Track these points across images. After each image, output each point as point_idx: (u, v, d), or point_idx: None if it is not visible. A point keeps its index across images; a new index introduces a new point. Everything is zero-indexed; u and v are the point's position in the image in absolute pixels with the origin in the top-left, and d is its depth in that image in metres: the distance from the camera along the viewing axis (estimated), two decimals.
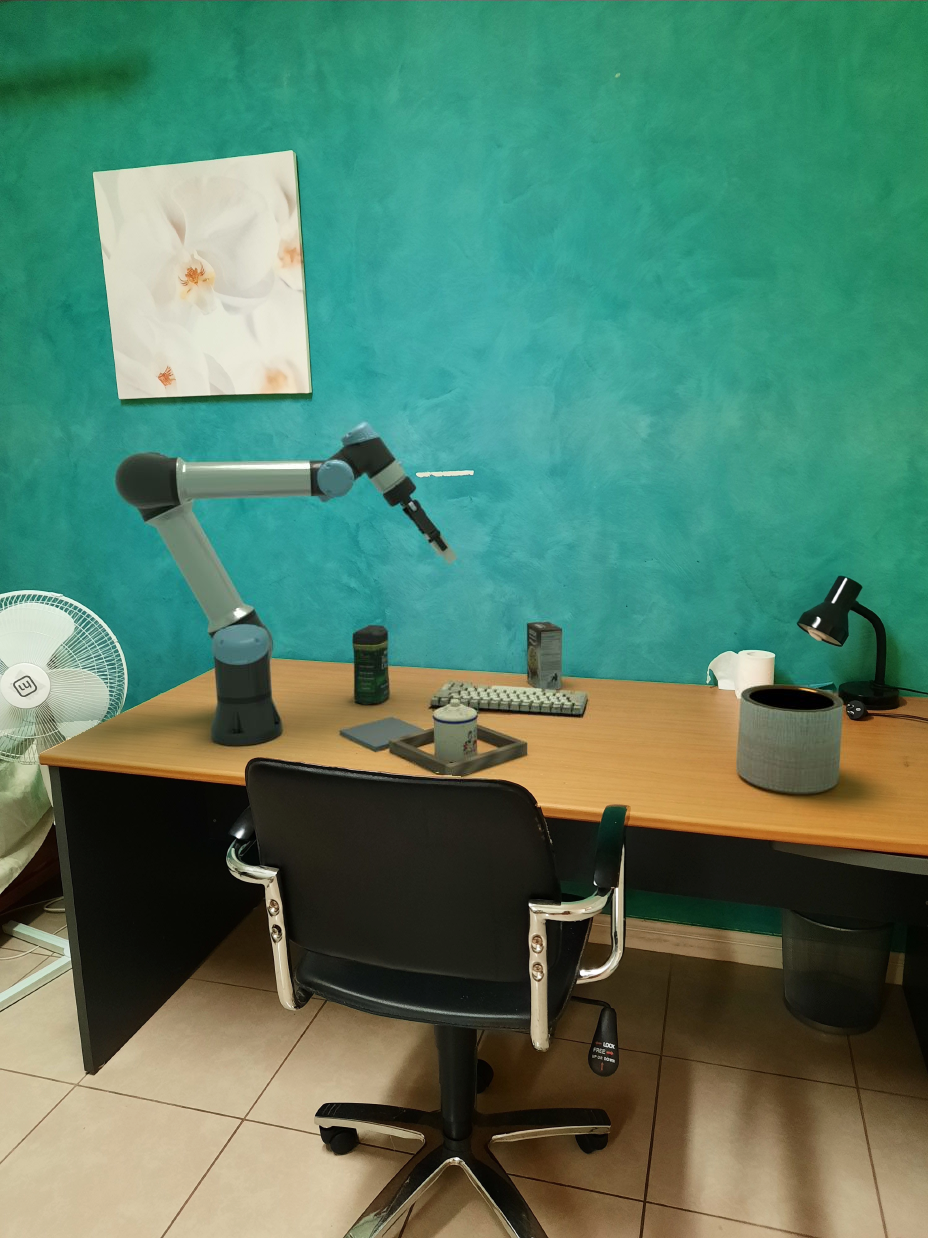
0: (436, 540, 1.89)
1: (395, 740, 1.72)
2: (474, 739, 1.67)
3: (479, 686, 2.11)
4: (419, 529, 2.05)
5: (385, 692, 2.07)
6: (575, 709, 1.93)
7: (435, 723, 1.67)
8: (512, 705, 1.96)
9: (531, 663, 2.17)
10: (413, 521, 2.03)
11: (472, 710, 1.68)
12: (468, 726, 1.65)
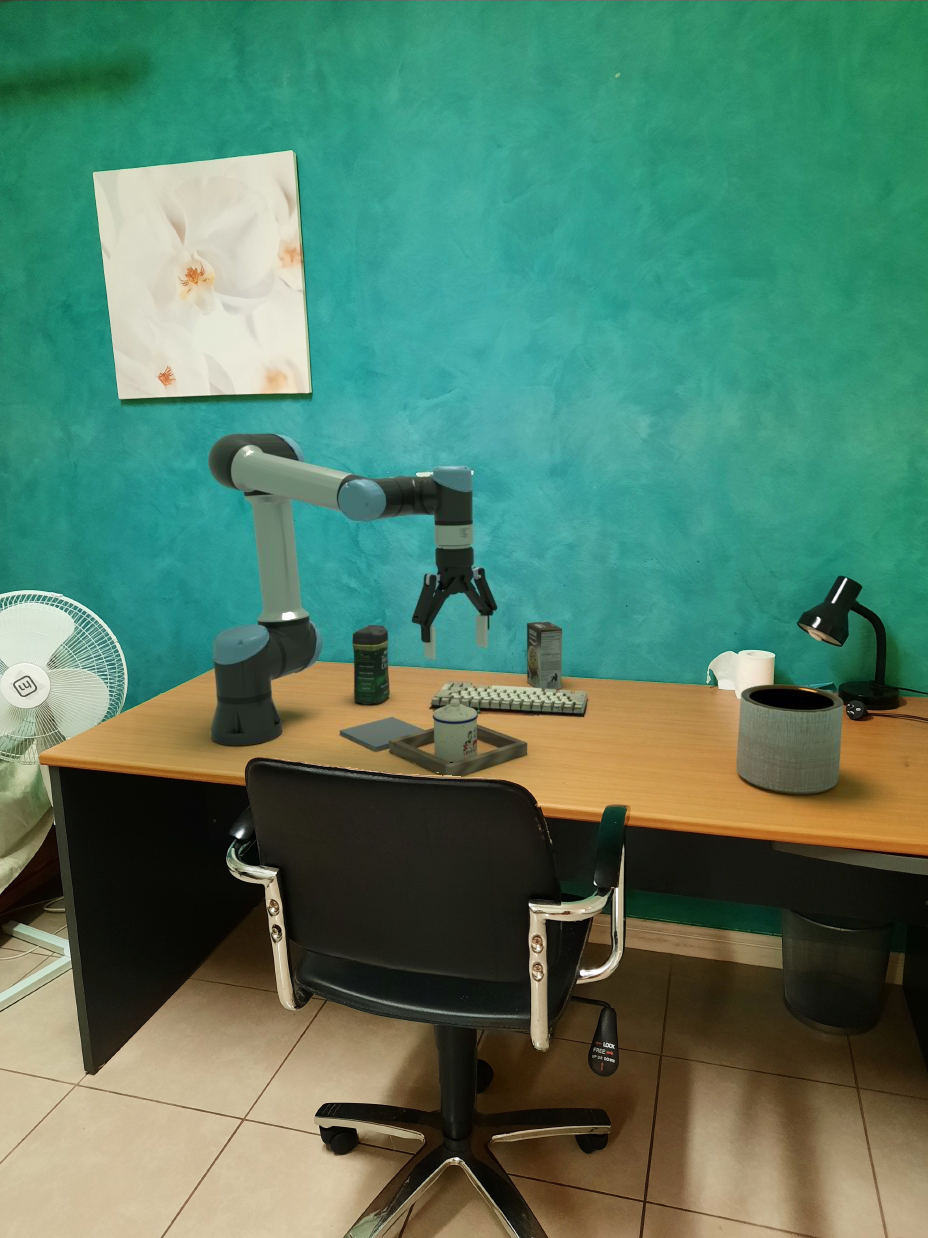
0: (421, 627, 1.62)
1: (395, 740, 1.72)
2: (474, 739, 1.67)
3: (479, 686, 2.11)
4: None
5: (385, 692, 2.07)
6: (576, 708, 1.93)
7: (435, 723, 1.67)
8: (513, 705, 1.96)
9: (531, 663, 2.17)
10: None
11: (472, 710, 1.68)
12: (468, 726, 1.65)
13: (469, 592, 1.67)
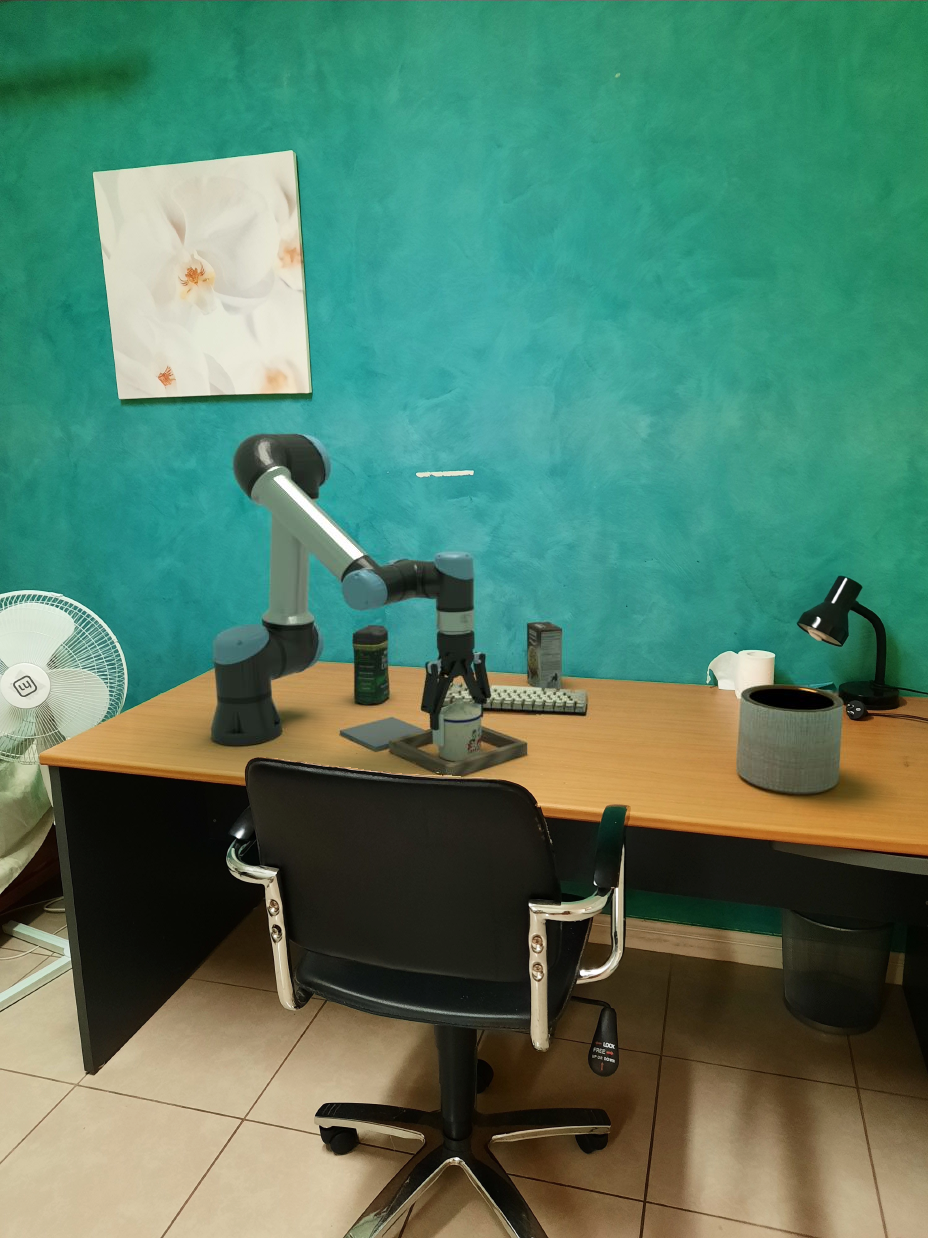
0: (430, 715, 1.65)
1: (395, 740, 1.72)
2: (478, 738, 1.68)
3: None
4: None
5: (385, 692, 2.07)
6: (578, 707, 1.94)
7: None
8: (515, 704, 1.96)
9: (531, 663, 2.17)
10: (476, 679, 1.73)
11: (476, 709, 1.69)
12: (472, 725, 1.66)
13: (467, 676, 1.69)
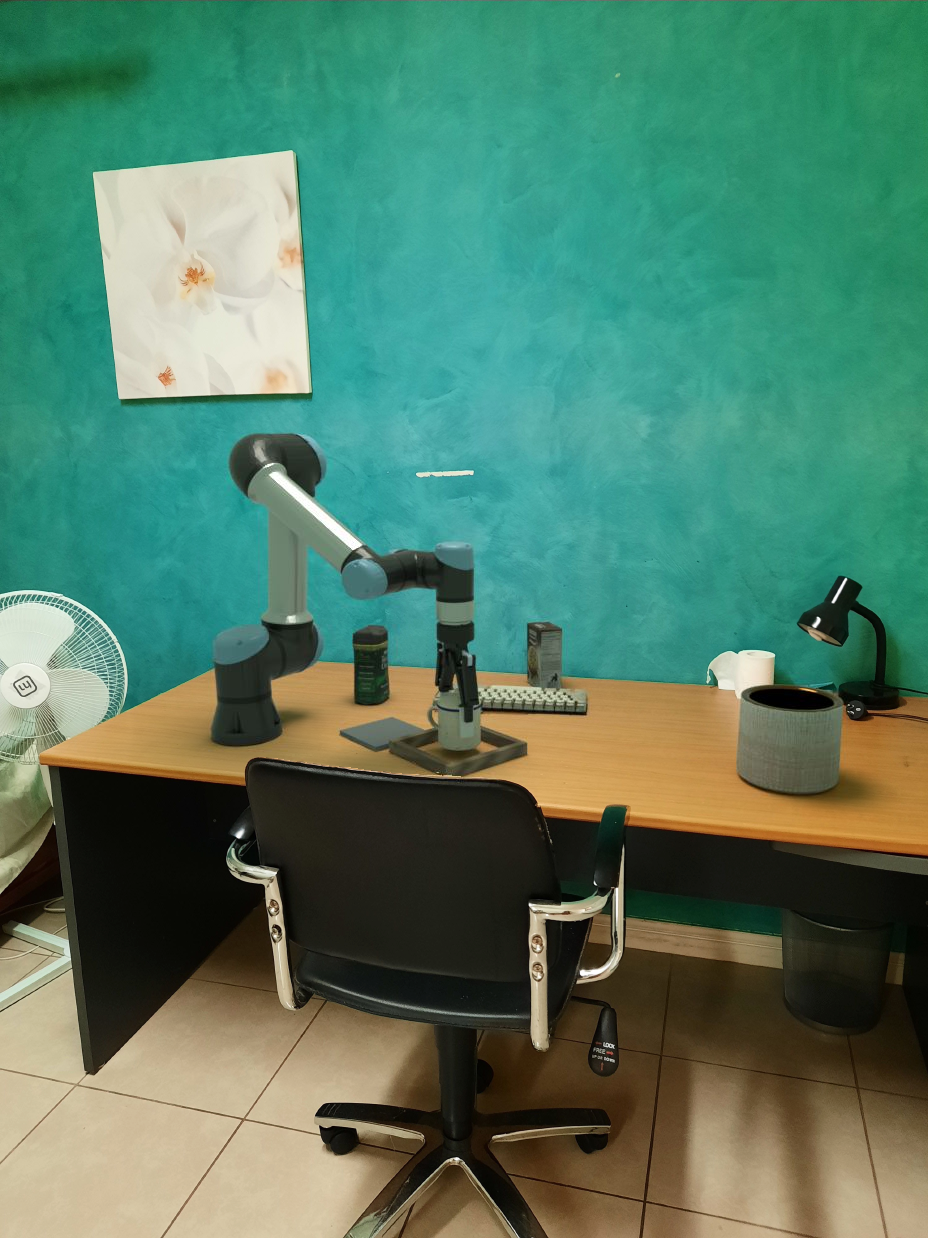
0: (467, 708, 1.63)
1: (395, 740, 1.72)
2: None
3: (478, 686, 2.11)
4: (437, 683, 1.75)
5: (385, 692, 2.07)
6: (579, 707, 1.94)
7: None
8: (516, 704, 1.97)
9: (531, 663, 2.17)
10: (438, 670, 1.73)
11: None
12: None
13: None
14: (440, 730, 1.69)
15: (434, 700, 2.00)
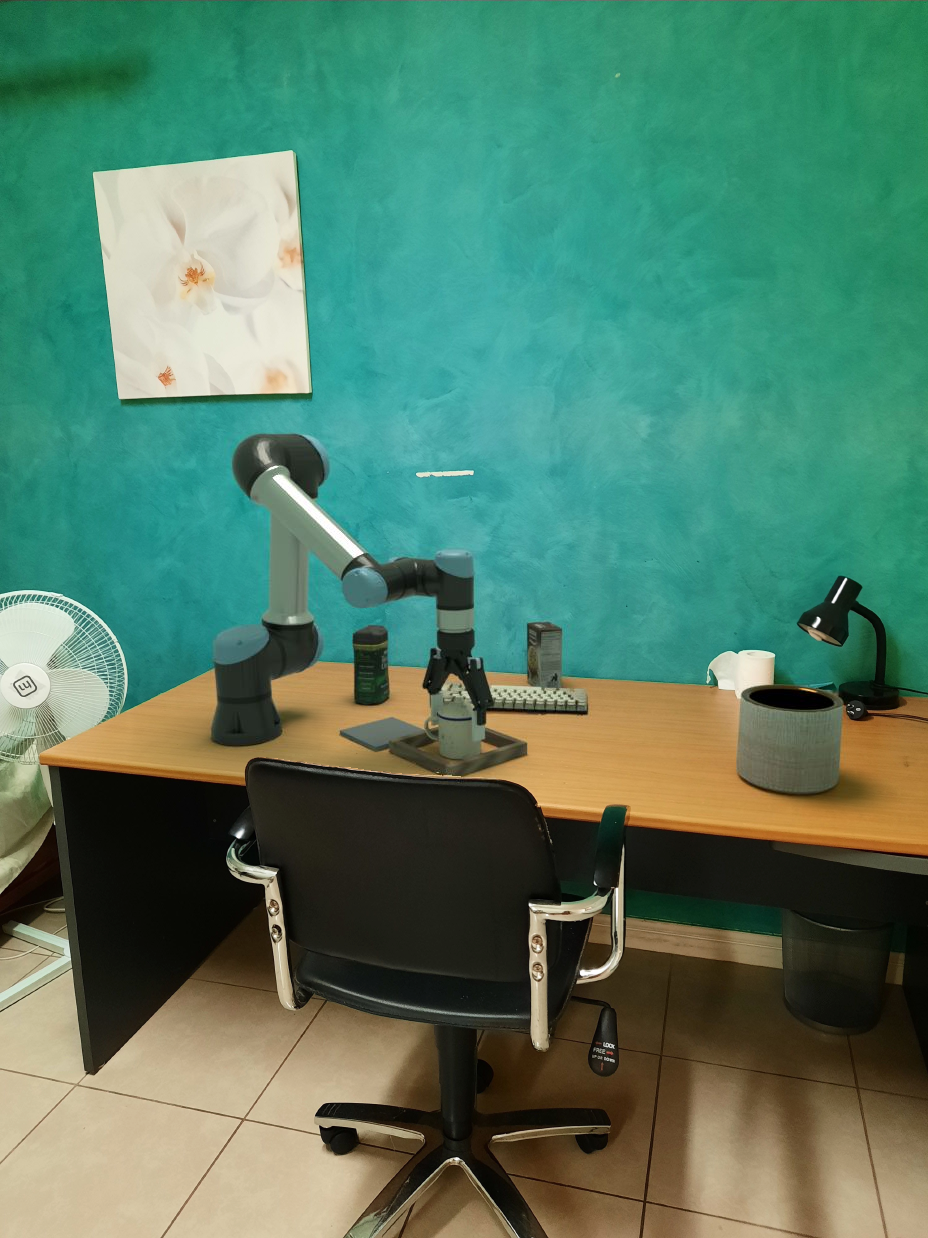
0: (481, 711, 1.63)
1: (395, 740, 1.72)
2: None
3: None
4: (426, 686, 1.75)
5: (385, 692, 2.07)
6: (580, 706, 1.95)
7: (468, 723, 1.66)
8: (517, 704, 1.97)
9: (531, 663, 2.17)
10: (429, 674, 1.73)
11: None
12: None
13: None
14: (444, 741, 1.68)
15: None
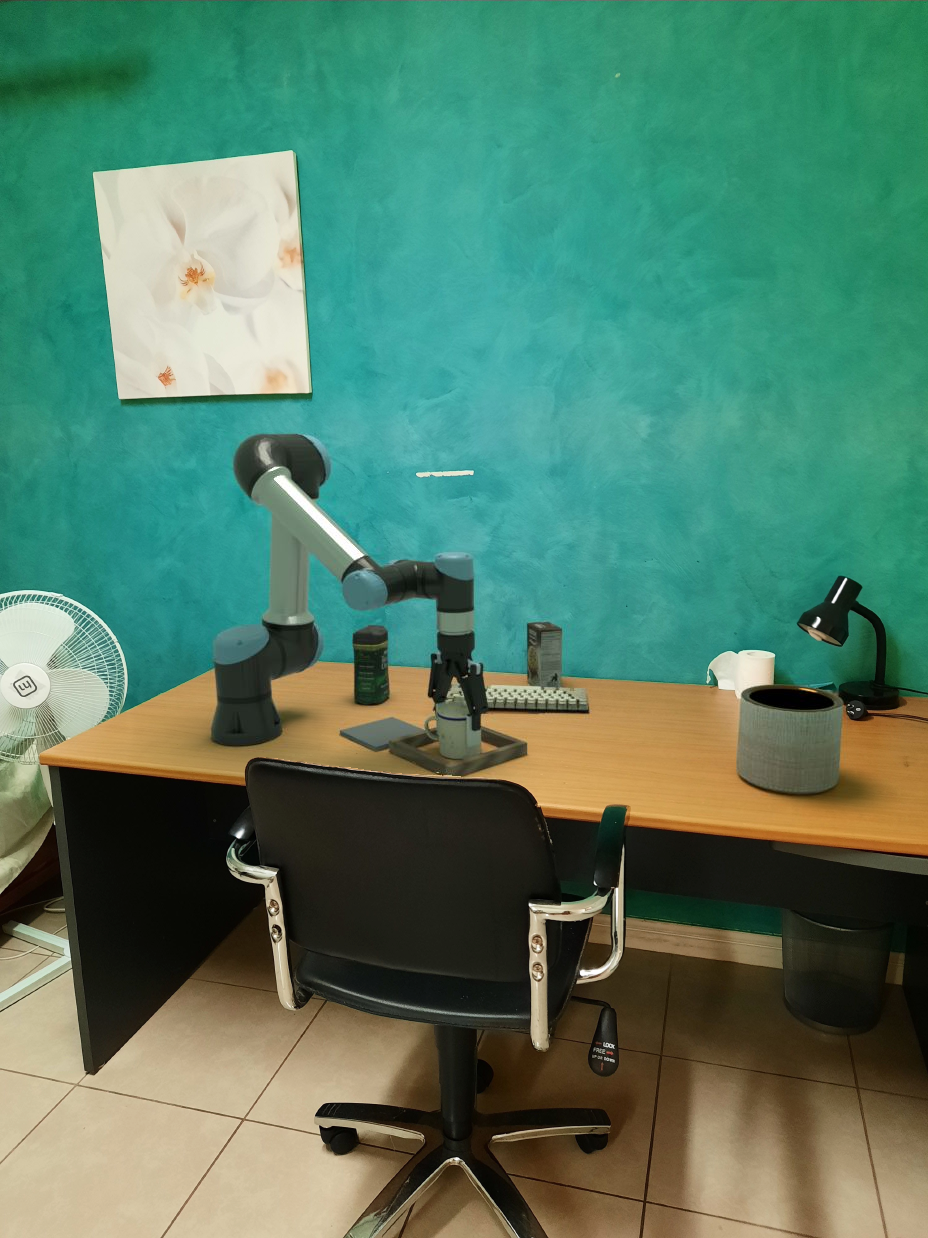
0: (476, 716, 1.64)
1: (395, 740, 1.72)
2: None
3: None
4: (431, 694, 1.74)
5: (385, 692, 2.07)
6: (581, 705, 1.96)
7: None
8: (518, 703, 1.97)
9: (531, 663, 2.17)
10: (432, 681, 1.73)
11: None
12: None
13: (452, 675, 1.70)
14: (444, 740, 1.68)
15: None
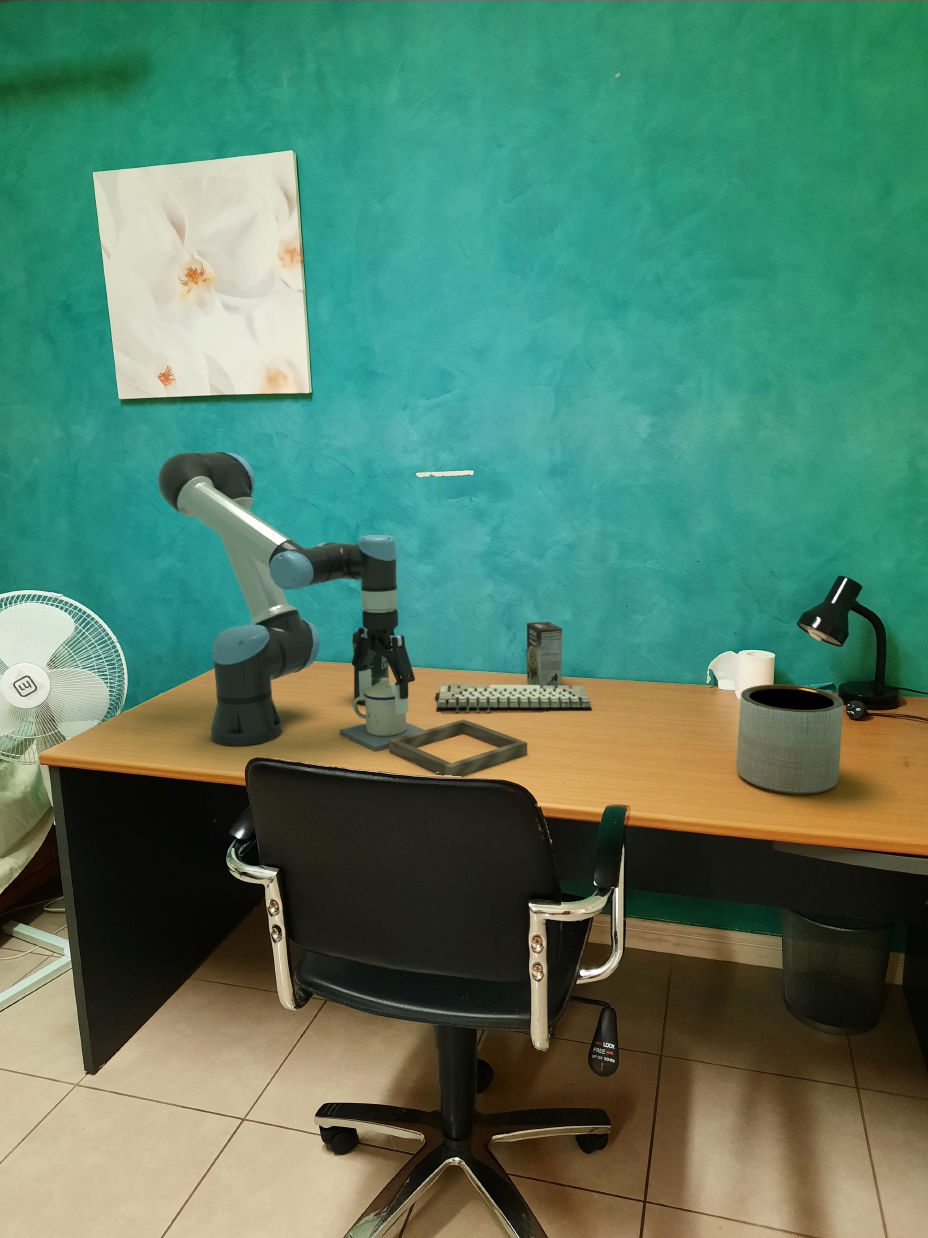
0: (403, 685, 1.73)
1: (395, 740, 1.72)
2: None
3: (477, 686, 2.11)
4: (355, 663, 1.86)
5: None
6: (584, 702, 1.98)
7: (392, 702, 1.78)
8: (522, 702, 1.98)
9: (531, 663, 2.17)
10: (357, 652, 1.84)
11: None
12: None
13: None
14: (370, 719, 1.79)
15: (440, 702, 1.98)
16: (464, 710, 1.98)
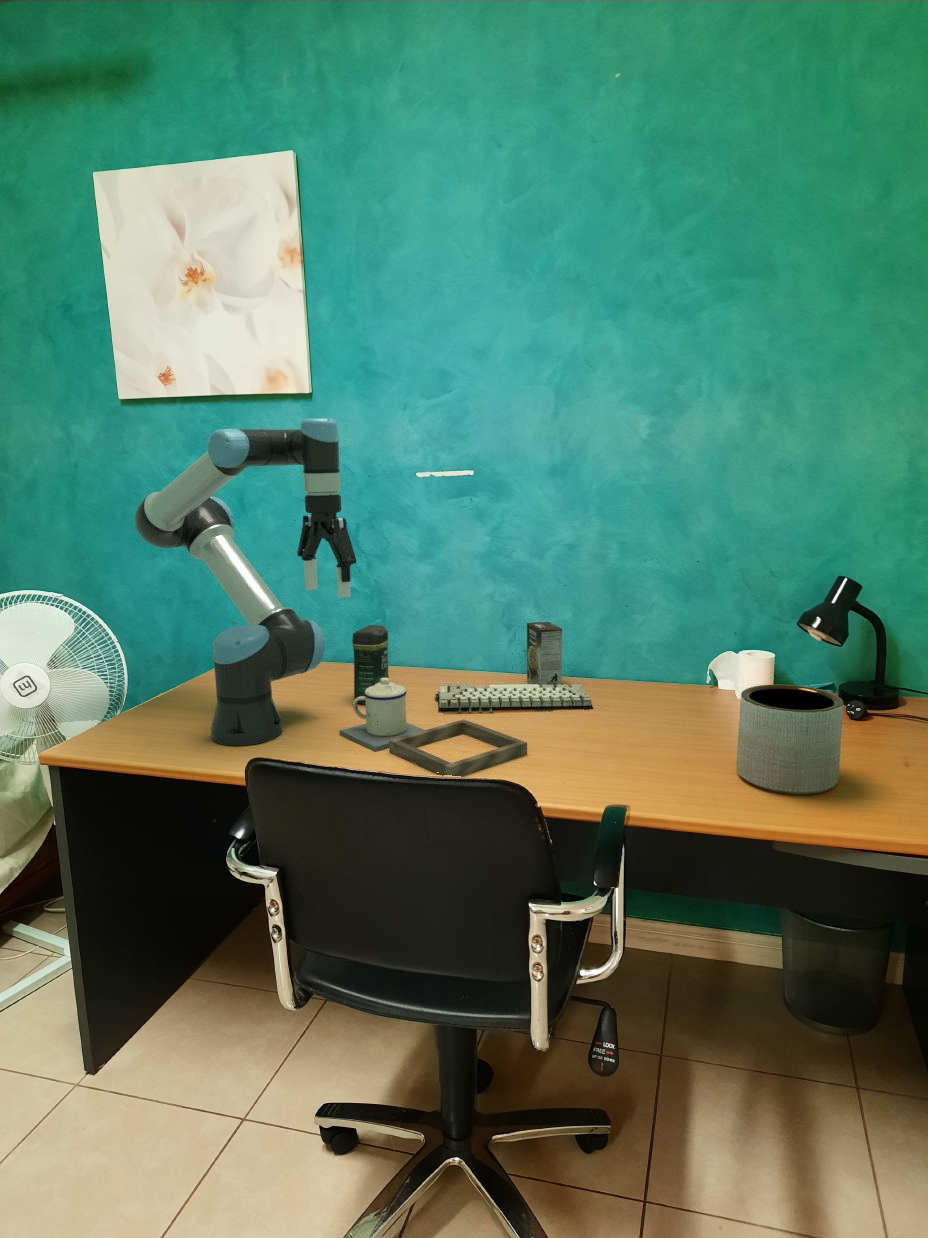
0: (345, 568, 1.73)
1: (395, 740, 1.72)
2: None
3: (476, 686, 2.11)
4: (300, 553, 1.85)
5: None
6: (586, 701, 1.99)
7: (392, 702, 1.78)
8: (524, 702, 1.98)
9: (531, 663, 2.17)
10: (302, 541, 1.84)
11: None
12: None
13: None
14: (370, 719, 1.79)
15: (442, 702, 1.98)
16: (466, 710, 1.98)
